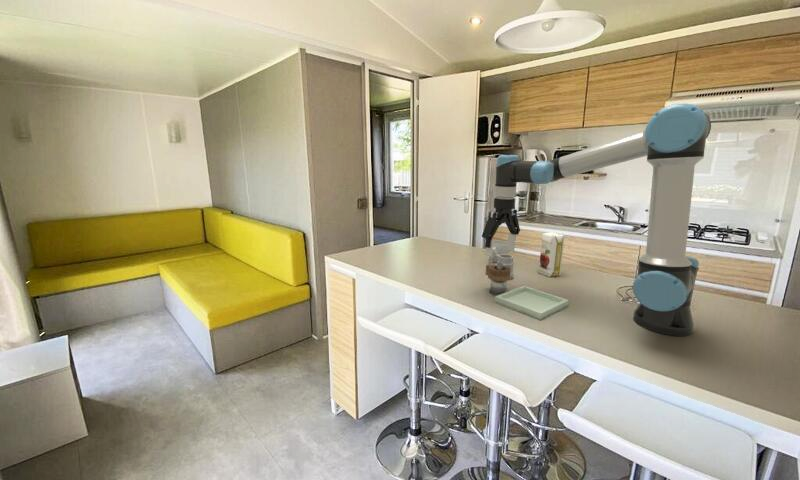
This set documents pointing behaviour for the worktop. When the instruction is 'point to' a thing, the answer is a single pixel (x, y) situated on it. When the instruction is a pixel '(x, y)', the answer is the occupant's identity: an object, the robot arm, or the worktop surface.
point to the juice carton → (551, 254)
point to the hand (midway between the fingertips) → (500, 253)
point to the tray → (532, 302)
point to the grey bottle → (498, 284)
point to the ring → (498, 273)
